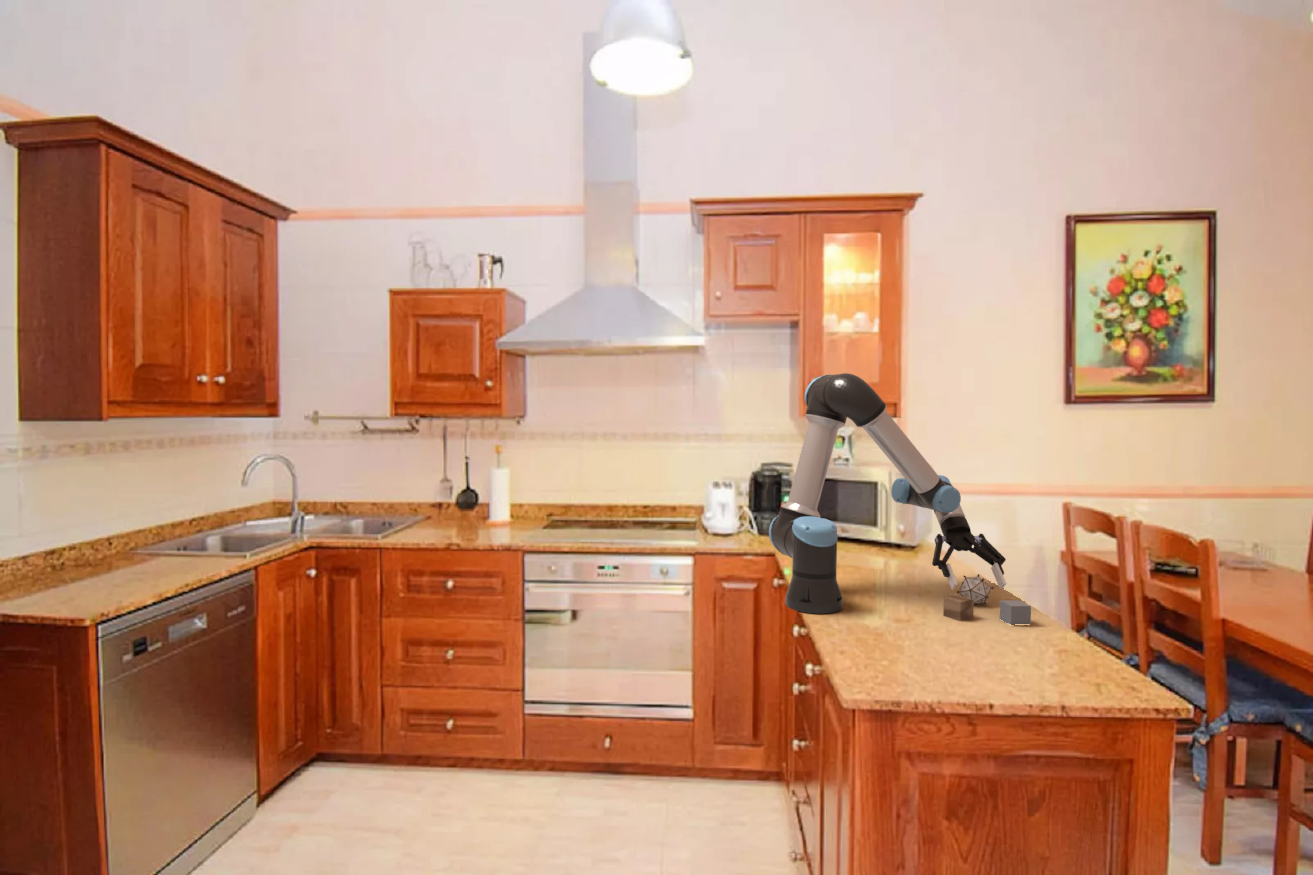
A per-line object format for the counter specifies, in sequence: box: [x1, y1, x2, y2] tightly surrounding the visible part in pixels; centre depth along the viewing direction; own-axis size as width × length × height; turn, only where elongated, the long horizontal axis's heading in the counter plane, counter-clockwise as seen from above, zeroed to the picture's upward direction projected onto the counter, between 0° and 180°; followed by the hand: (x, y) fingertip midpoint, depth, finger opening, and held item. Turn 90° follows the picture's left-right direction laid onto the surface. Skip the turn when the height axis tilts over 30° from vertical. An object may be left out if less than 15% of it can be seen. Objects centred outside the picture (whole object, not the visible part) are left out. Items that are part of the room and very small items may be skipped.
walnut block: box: [942, 594, 974, 622], centre depth 175 cm, size 5×5×5 cm
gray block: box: [999, 599, 1032, 625], centre depth 170 cm, size 5×5×5 cm
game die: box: [955, 573, 995, 606], centre depth 186 cm, size 9×8×10 cm
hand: (979, 586), depth 185 cm, fingers open, 13 cm apart
